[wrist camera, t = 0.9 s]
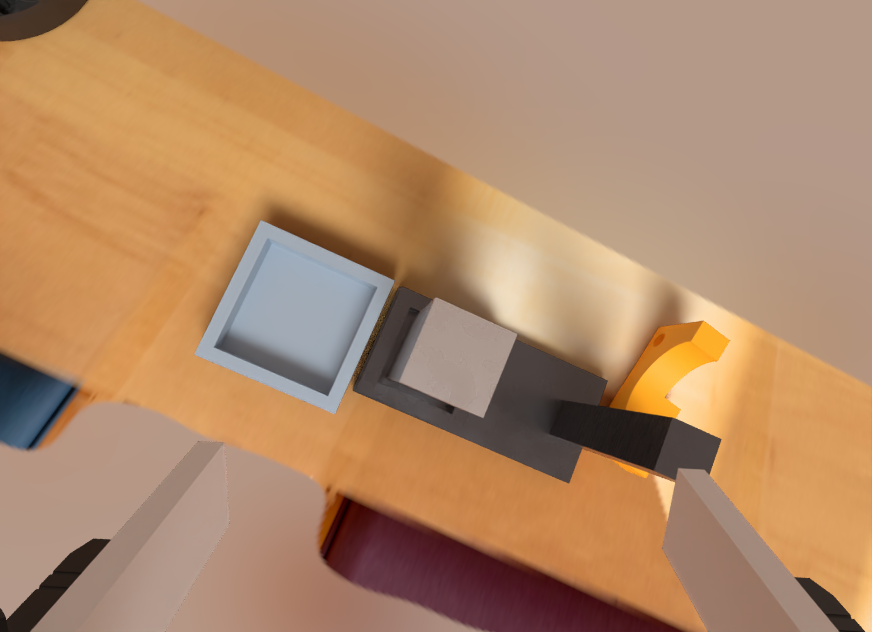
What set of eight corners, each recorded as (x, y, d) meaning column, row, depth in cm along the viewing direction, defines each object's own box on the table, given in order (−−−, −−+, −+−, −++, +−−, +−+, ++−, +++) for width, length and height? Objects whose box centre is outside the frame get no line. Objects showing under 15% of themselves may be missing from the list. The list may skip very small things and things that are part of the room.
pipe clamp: (626, 470, 47) (668, 487, 40) (585, 441, 46) (621, 452, 40) (696, 355, 48) (747, 353, 42) (658, 327, 48) (703, 320, 42)
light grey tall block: (386, 377, 43) (399, 381, 29) (411, 319, 44) (436, 297, 30) (444, 402, 43) (483, 418, 30) (468, 344, 44) (517, 333, 30)
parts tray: (205, 355, 42) (194, 354, 40) (267, 230, 44) (261, 220, 41) (336, 410, 43) (334, 414, 40) (392, 286, 45) (394, 280, 42)
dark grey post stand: (352, 390, 44) (348, 404, 27) (398, 288, 45) (421, 241, 28) (563, 480, 45) (684, 547, 28) (601, 380, 47) (739, 387, 30)
